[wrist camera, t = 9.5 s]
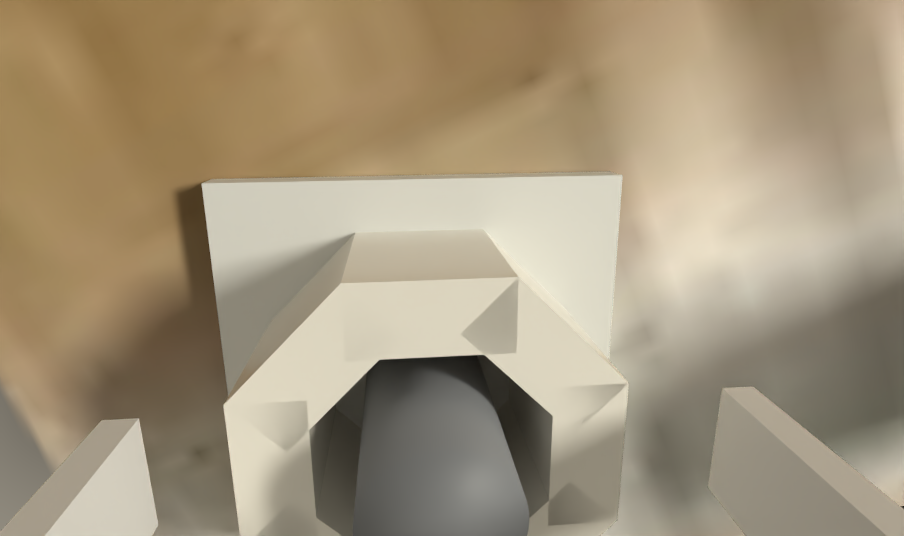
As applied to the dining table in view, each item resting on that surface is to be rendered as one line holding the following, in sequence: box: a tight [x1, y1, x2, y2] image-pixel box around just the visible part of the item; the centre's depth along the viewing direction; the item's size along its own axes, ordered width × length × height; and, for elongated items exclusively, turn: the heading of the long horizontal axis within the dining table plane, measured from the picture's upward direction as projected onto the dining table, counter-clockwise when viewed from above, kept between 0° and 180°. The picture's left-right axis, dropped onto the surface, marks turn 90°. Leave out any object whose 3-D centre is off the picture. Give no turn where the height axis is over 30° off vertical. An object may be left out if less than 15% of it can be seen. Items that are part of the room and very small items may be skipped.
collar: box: [223, 229, 629, 536], centre depth 16 cm, size 9×9×5 cm
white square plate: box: [202, 171, 622, 536], centre depth 15 cm, size 12×12×8 cm
